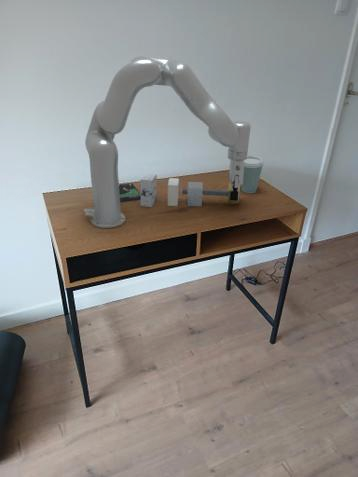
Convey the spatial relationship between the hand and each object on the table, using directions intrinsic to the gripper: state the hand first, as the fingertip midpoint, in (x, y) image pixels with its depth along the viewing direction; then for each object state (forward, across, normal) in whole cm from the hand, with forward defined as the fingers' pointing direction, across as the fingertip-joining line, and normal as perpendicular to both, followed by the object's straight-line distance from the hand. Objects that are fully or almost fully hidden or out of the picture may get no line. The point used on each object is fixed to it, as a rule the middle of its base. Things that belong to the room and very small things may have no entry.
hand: (233, 197), depth 151 cm
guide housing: (+3, 0, +16) cm, 16 cm away
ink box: (+4, -2, +35) cm, 35 cm away
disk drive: (+4, +6, +46) cm, 47 cm away
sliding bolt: (+2, 0, +9) cm, 10 cm away
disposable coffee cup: (+4, +16, -8) cm, 18 cm away
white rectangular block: (+3, 0, +25) cm, 25 cm away
